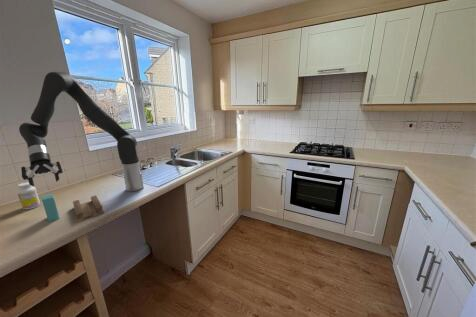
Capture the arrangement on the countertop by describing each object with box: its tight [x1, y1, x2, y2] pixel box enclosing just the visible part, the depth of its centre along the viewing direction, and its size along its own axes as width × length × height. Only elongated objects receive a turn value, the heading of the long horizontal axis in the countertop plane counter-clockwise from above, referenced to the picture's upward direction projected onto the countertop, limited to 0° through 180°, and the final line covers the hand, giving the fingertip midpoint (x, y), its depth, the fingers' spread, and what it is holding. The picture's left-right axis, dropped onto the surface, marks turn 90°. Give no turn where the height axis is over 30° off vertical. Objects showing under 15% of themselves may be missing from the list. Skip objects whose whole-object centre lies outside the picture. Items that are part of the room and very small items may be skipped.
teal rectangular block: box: [41, 193, 60, 223], centre depth 92 cm, size 4×5×11 cm, turn 43°
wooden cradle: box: [72, 194, 105, 222], centre depth 99 cm, size 10×17×4 cm, turn 43°
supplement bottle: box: [16, 181, 41, 210], centre depth 102 cm, size 7×7×13 cm
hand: (45, 183), depth 96 cm, fingers open, 8 cm apart
